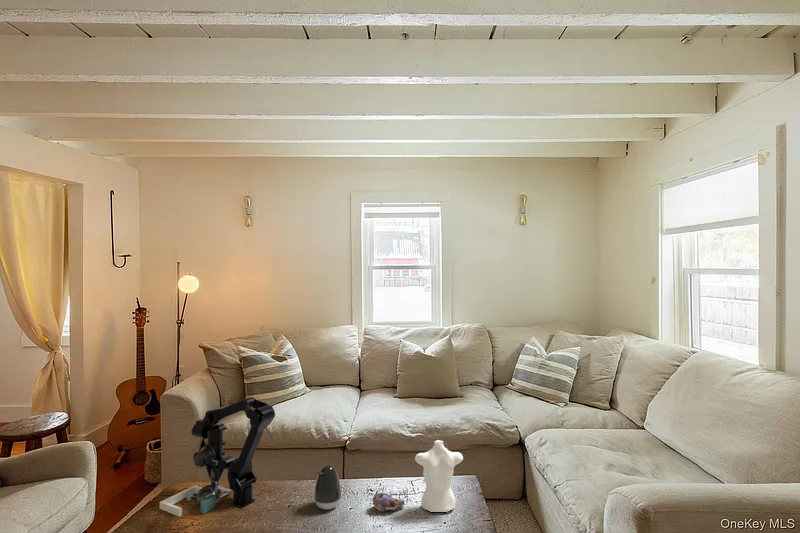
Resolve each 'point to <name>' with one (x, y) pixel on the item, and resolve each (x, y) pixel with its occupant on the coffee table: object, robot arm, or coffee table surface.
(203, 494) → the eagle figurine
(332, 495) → the grey rounded egg shape
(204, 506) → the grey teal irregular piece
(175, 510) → the frame
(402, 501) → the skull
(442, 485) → the torso sculpture
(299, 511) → the coffee table surface
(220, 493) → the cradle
